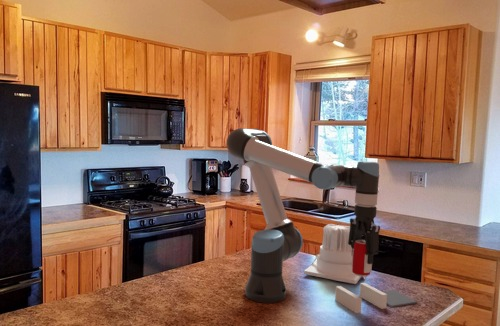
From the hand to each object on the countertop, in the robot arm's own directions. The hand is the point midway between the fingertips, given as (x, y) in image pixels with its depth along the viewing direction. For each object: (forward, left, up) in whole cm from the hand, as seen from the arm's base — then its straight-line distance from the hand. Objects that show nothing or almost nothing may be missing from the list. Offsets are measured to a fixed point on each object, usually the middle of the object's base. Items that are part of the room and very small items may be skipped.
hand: (361, 269), depth 147 cm
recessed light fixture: (+11, +30, -13) cm, 34 cm away
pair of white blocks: (0, 0, -13) cm, 13 cm away
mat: (+15, 0, -13) cm, 20 cm away
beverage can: (0, 0, -2) cm, 2 cm away
